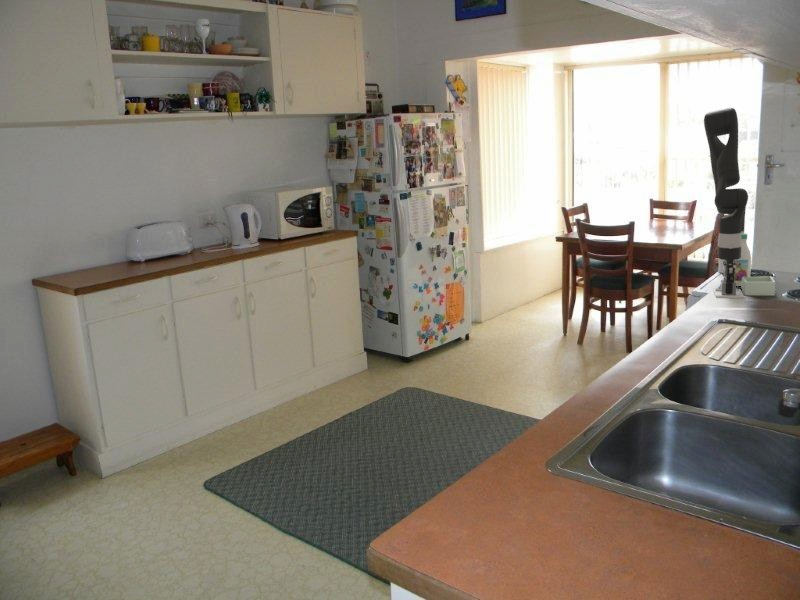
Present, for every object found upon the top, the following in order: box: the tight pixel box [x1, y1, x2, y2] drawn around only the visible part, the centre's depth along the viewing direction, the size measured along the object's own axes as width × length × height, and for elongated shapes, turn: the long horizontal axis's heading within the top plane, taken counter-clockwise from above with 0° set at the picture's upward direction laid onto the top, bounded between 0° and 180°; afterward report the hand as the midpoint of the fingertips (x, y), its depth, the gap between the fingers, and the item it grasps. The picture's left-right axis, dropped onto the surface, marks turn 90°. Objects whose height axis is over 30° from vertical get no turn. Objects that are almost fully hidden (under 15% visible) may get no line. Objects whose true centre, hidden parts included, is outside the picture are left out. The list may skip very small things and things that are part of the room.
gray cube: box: [720, 279, 737, 295], centre depth 250 cm, size 5×5×5 cm
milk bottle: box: [733, 232, 752, 286], centre depth 261 cm, size 8×8×20 cm
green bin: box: [740, 276, 776, 297], centre depth 250 cm, size 10×10×5 cm
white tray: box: [712, 288, 745, 299], centre depth 251 cm, size 11×9×1 cm
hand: (728, 291), depth 250 cm, fingers closed on gray cube, 4 cm apart
